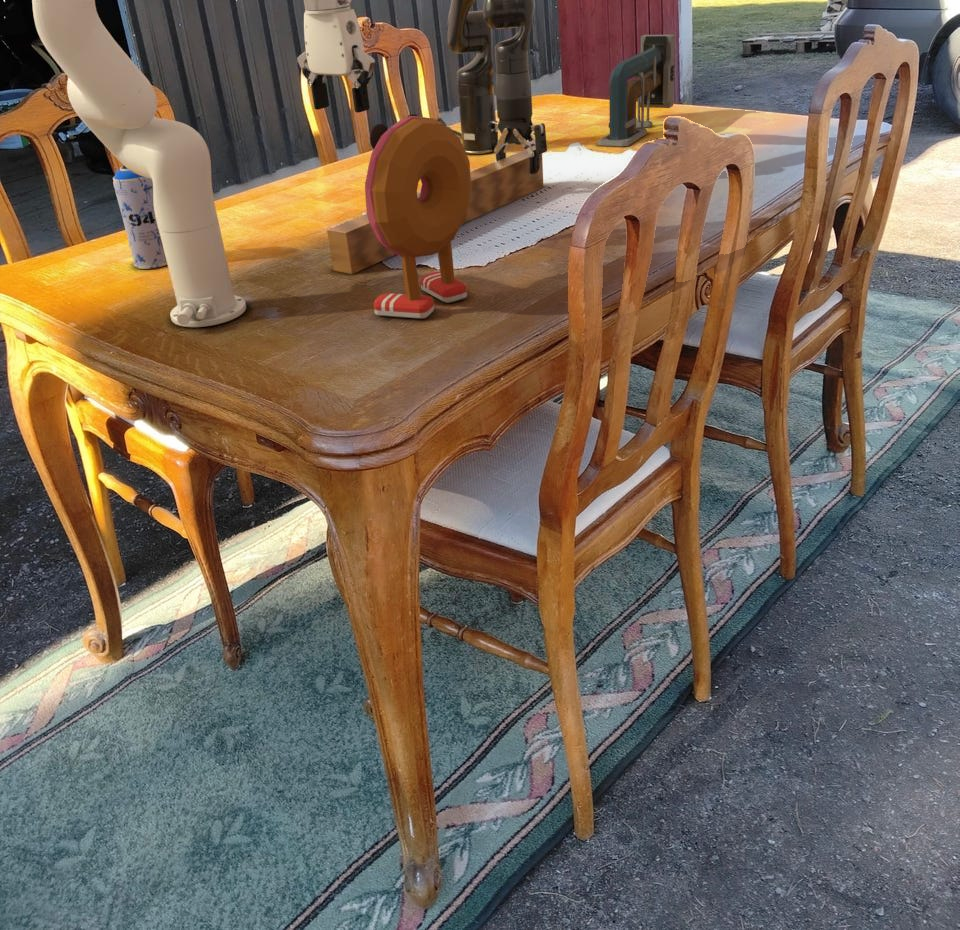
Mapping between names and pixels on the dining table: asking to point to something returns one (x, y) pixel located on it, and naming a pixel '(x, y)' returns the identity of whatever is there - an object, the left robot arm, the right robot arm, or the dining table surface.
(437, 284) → the toy
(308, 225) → the dining table surface
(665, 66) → the clamp
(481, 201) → the post
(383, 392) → the dining table surface
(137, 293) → the dining table surface
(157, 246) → the aerosol can
